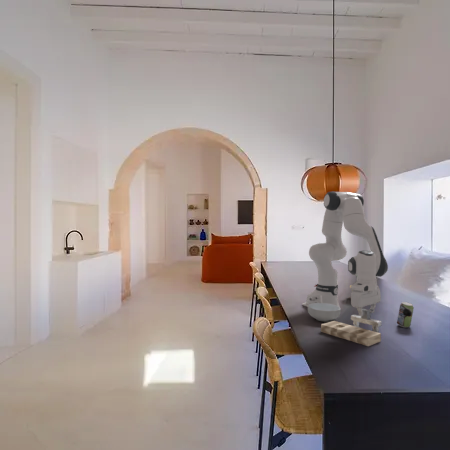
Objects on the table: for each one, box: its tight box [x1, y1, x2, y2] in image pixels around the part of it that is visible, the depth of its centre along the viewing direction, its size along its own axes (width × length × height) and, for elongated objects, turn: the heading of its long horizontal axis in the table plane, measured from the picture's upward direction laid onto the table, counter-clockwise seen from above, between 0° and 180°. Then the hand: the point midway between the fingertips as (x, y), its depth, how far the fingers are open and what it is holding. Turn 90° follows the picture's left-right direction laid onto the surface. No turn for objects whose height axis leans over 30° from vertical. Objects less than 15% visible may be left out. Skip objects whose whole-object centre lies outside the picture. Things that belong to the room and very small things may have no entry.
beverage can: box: [396, 301, 415, 329], centre depth 175 cm, size 6×7×12 cm
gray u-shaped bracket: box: [350, 308, 382, 333], centre depth 168 cm, size 14×3×10 cm, turn 37°
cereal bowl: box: [307, 303, 342, 323], centre depth 187 cm, size 17×17×7 cm
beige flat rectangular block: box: [320, 320, 382, 347], centre depth 160 cm, size 24×10×4 cm, turn 37°
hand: (366, 314), depth 168 cm, fingers open, 8 cm apart
